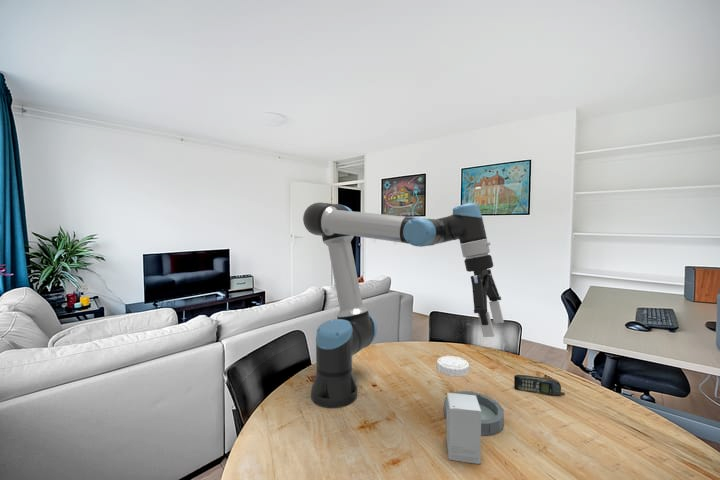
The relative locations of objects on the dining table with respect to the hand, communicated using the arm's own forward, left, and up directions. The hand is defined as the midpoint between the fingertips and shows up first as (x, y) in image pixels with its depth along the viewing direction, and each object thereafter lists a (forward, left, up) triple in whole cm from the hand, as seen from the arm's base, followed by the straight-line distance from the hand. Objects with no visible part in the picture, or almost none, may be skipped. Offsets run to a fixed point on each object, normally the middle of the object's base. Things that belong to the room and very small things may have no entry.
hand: (494, 329), depth 88 cm
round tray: (-2, -5, -26) cm, 26 cm away
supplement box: (+8, -17, -26) cm, 32 cm away
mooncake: (-29, +9, -26) cm, 40 cm away
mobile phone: (-5, +25, -26) cm, 37 cm away
